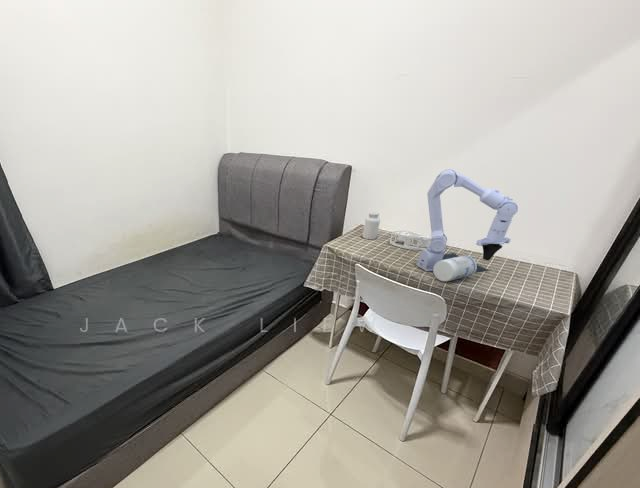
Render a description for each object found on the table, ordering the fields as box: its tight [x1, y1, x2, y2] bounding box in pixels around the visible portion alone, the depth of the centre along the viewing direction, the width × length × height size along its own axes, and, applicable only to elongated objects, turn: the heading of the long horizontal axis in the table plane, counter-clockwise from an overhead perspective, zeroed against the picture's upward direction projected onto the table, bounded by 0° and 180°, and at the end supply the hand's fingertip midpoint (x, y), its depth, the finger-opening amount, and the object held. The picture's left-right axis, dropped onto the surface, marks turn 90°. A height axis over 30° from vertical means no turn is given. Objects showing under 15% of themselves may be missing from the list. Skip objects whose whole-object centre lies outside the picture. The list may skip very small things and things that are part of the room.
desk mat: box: [442, 253, 488, 273], centre depth 148 cm, size 16×20×1 cm
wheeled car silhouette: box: [389, 229, 431, 251], centre depth 167 cm, size 20×11×7 cm, turn 41°
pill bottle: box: [362, 211, 381, 240], centre depth 178 cm, size 8×8×15 cm
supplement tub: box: [432, 254, 478, 282], centre depth 132 cm, size 10×10×15 cm
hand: (486, 259), depth 131 cm, fingers closed
